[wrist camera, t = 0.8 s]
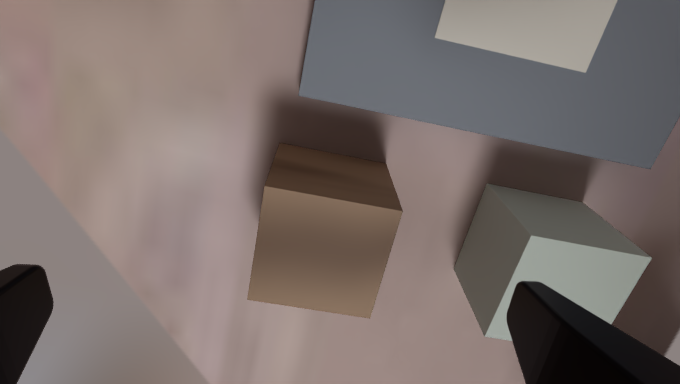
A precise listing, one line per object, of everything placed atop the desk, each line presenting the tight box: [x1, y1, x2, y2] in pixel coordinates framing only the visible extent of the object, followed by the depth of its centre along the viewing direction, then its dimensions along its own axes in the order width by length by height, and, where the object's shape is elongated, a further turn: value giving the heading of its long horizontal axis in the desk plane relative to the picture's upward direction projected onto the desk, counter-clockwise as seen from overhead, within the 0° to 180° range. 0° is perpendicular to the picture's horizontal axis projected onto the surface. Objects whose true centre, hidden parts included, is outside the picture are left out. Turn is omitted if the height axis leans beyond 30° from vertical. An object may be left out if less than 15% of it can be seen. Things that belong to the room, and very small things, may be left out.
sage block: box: [454, 184, 652, 341], centre depth 19 cm, size 5×5×5 cm
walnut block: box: [247, 143, 403, 318], centre depth 18 cm, size 5×5×5 cm
